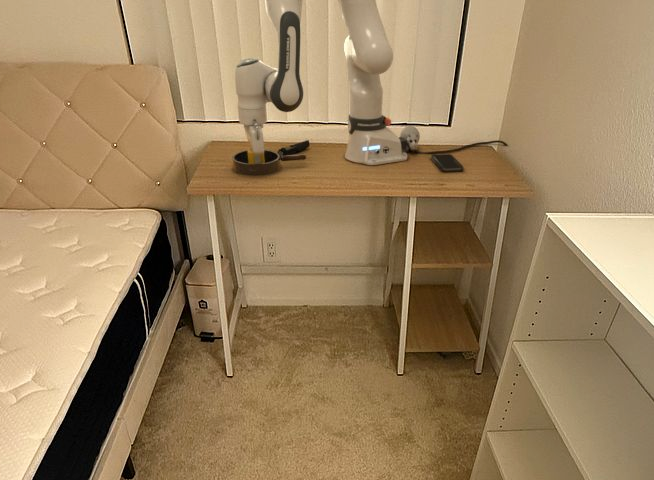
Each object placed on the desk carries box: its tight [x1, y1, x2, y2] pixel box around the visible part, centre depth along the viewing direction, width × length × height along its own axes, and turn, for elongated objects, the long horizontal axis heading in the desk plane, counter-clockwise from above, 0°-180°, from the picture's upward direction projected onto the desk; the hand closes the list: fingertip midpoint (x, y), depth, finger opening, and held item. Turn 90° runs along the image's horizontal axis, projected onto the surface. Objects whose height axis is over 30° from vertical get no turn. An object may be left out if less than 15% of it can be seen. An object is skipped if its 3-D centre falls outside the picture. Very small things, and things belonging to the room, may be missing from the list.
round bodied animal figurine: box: [399, 125, 421, 153], centre depth 203 cm, size 7×12×8 cm, turn 5°
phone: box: [430, 153, 464, 173], centre depth 194 cm, size 8×1×15 cm
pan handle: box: [280, 153, 307, 162], centre depth 189 cm, size 9×2×2 cm, turn 105°
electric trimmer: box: [276, 139, 310, 157], centre depth 202 cm, size 4×16×3 cm, turn 142°
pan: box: [231, 149, 281, 177], centre depth 187 cm, size 16×16×4 cm
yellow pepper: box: [247, 148, 265, 164], centre depth 186 cm, size 5×5×6 cm
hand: (256, 159), depth 187 cm, fingers closed on yellow pepper, 5 cm apart
